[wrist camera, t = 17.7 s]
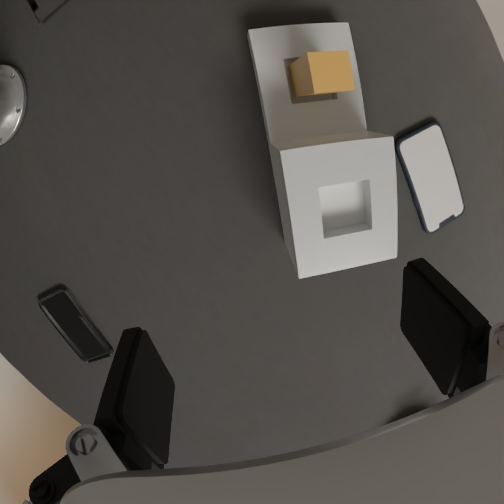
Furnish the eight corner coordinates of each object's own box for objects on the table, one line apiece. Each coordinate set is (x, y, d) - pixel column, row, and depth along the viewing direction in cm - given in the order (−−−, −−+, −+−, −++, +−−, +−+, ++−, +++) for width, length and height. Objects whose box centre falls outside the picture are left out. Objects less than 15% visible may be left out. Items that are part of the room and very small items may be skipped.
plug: (287, 66, 33) (306, 52, 24) (319, 63, 33) (347, 50, 24) (293, 97, 35) (314, 93, 26) (324, 93, 35) (355, 90, 26)
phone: (85, 363, 51) (35, 302, 45) (87, 359, 52) (38, 298, 46) (115, 354, 50) (64, 287, 44) (117, 350, 51) (66, 283, 45)
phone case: (388, 141, 39) (422, 234, 45) (393, 142, 38) (427, 237, 44) (433, 118, 38) (461, 208, 44) (439, 118, 36) (467, 212, 42)
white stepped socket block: (246, 35, 32) (252, 12, 23) (340, 27, 32) (371, 8, 23) (284, 242, 44) (299, 278, 35) (365, 226, 44) (396, 257, 35)
